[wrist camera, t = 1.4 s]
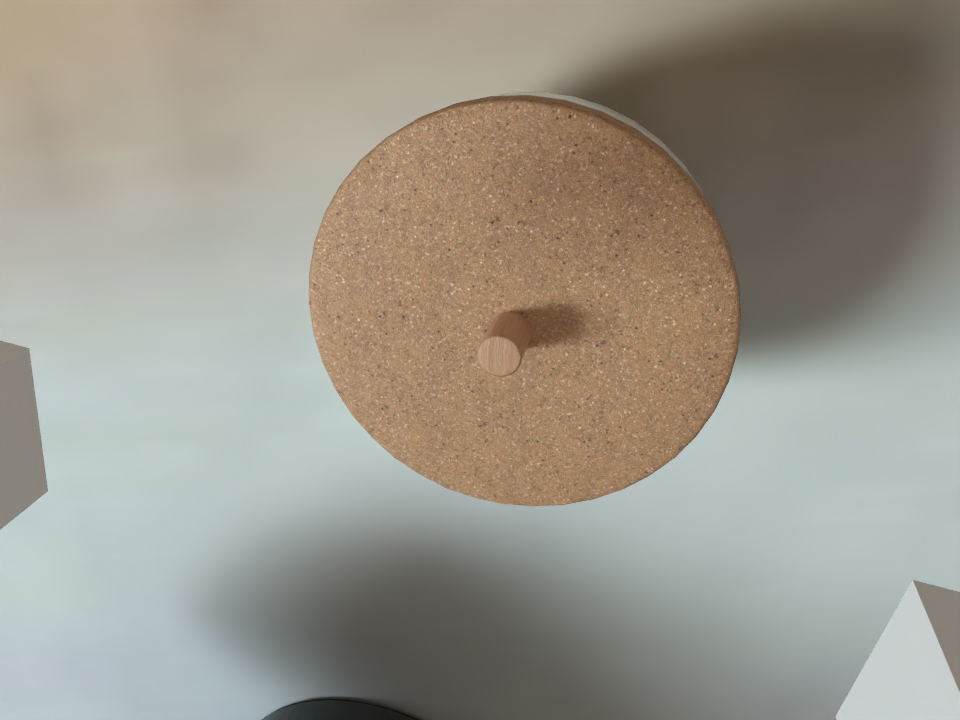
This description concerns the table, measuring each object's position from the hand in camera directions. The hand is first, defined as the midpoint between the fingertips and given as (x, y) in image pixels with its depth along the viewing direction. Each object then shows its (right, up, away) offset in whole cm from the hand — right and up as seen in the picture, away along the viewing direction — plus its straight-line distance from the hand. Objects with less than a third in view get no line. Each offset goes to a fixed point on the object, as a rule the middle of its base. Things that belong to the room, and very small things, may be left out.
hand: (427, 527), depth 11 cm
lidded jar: (+3, +7, +14) cm, 16 cm away
